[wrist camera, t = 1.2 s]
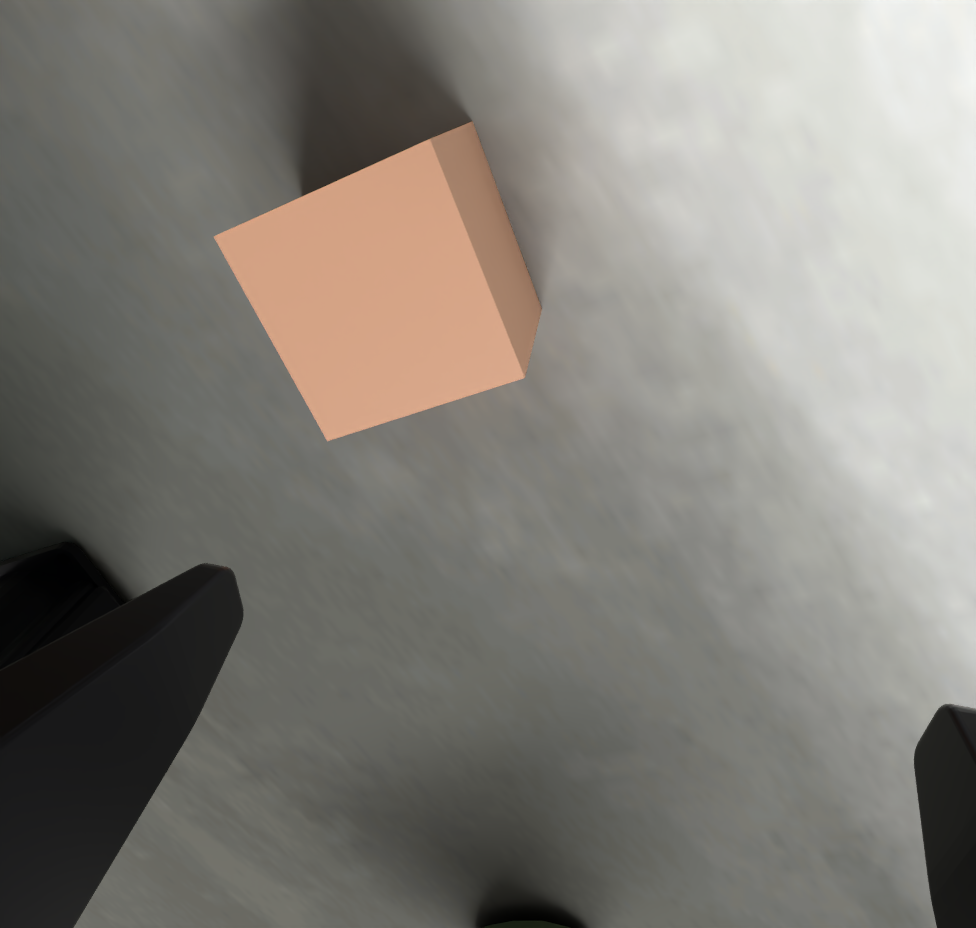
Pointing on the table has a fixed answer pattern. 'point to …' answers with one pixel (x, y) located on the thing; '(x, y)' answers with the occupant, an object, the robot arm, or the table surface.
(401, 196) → the terracotta block
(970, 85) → the table surface
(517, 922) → the character mug
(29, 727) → the robot arm
